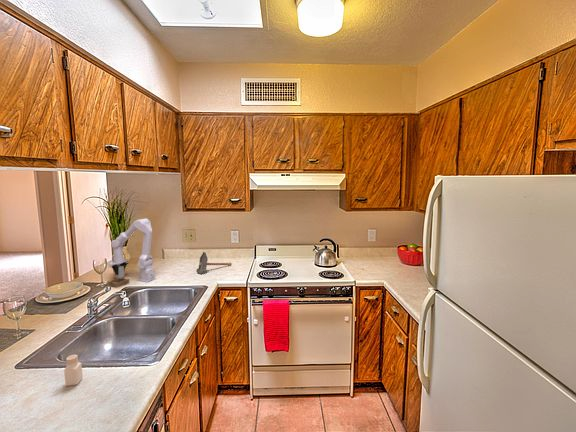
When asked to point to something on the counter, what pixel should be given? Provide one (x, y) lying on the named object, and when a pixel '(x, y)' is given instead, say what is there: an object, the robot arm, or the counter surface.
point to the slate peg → (120, 272)
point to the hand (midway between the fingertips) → (119, 273)
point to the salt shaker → (73, 371)
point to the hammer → (204, 264)
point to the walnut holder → (118, 282)
